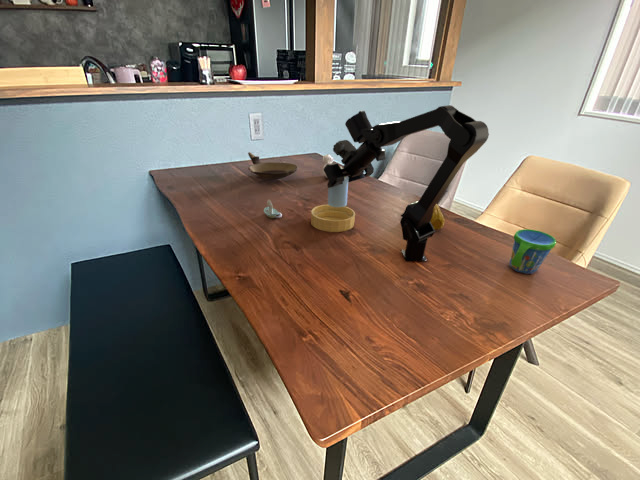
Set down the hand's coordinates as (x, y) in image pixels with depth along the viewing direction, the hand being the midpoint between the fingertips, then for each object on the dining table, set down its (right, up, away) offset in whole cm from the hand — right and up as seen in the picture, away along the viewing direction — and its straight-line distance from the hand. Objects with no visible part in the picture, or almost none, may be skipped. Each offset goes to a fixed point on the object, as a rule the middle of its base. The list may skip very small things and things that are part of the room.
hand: (335, 184), depth 122 cm
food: (+36, -9, +12) cm, 39 cm away
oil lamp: (-28, +22, +50) cm, 61 cm away
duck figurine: (-1, +28, +46) cm, 54 cm away
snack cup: (+55, -31, -15) cm, 65 cm away
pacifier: (-22, -8, +10) cm, 26 cm away
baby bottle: (+1, -6, +3) cm, 6 cm away
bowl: (-1, -12, +6) cm, 13 cm away
